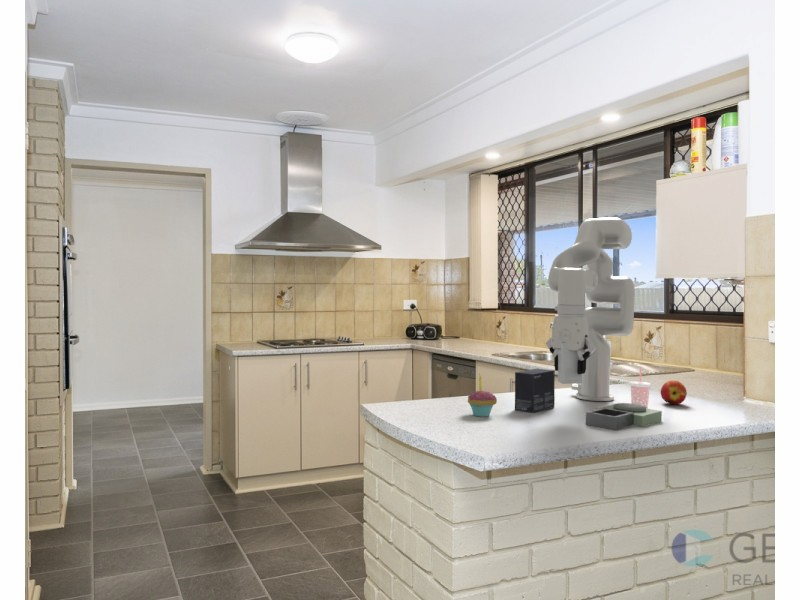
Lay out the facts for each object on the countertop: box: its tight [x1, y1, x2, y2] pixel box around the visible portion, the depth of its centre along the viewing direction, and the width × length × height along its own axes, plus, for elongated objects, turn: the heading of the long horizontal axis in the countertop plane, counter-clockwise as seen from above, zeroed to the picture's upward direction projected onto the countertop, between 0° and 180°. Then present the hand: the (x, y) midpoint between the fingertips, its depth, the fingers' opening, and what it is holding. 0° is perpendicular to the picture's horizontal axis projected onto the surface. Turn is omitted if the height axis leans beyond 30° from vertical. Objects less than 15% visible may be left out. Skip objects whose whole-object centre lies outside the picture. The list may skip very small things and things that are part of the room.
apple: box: [660, 379, 688, 405], centre depth 213 cm, size 8×8×8 cm
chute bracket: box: [585, 408, 634, 431], centre depth 178 cm, size 9×10×4 cm
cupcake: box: [467, 373, 498, 418], centre depth 188 cm, size 9×8×12 cm
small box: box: [514, 368, 556, 414], centre depth 199 cm, size 13×7×12 cm, turn 137°
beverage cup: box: [629, 366, 652, 409], centre depth 198 cm, size 6×6×14 cm
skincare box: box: [557, 342, 582, 384], centre depth 185 cm, size 6×4×12 cm
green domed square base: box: [595, 402, 663, 428], centre depth 185 cm, size 14×12×4 cm
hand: (569, 371), depth 185 cm, fingers closed on skincare box, 6 cm apart
